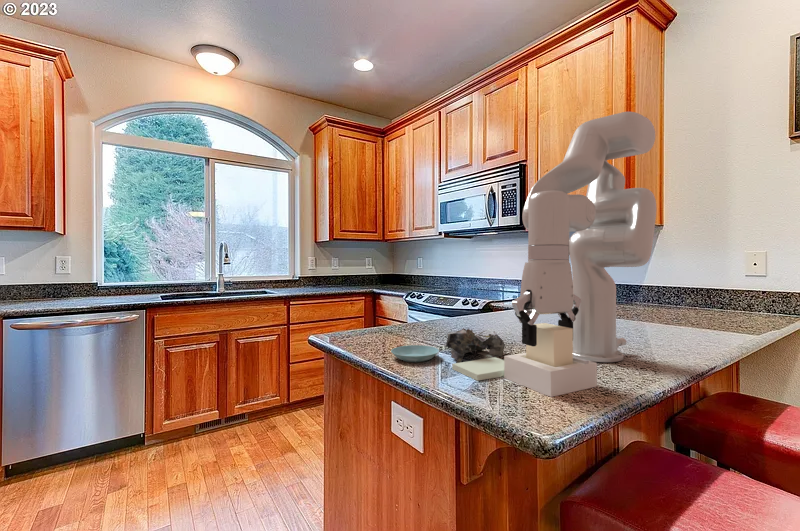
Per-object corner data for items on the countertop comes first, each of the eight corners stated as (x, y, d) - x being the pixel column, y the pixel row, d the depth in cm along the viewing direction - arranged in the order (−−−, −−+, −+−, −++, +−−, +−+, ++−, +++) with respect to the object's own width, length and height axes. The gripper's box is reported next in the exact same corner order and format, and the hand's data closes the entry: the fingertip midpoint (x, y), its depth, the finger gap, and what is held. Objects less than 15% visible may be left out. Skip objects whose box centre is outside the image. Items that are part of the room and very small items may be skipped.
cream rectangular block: (544, 375, 79) (544, 322, 79) (572, 385, 73) (572, 328, 72) (526, 379, 77) (526, 324, 76) (553, 389, 70) (553, 330, 70)
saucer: (381, 358, 95) (381, 349, 95) (418, 350, 102) (418, 342, 102) (411, 369, 85) (410, 359, 85) (449, 360, 92) (449, 350, 92)
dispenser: (547, 369, 83) (547, 347, 83) (596, 386, 72) (596, 360, 72) (504, 377, 77) (504, 353, 77) (550, 396, 67) (550, 368, 67)
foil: (518, 349, 89) (464, 315, 88) (492, 387, 89) (439, 353, 89) (504, 336, 100) (456, 306, 100) (481, 370, 101) (434, 340, 100)
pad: (495, 362, 89) (495, 357, 89) (523, 372, 81) (523, 366, 81) (452, 369, 84) (452, 363, 84) (477, 380, 76) (477, 374, 76)
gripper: (564, 256, 81) (563, 335, 81) (500, 255, 74) (500, 342, 74) (595, 255, 74) (594, 342, 75) (529, 254, 67) (528, 351, 67)
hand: (547, 342), depth 74 cm, fingers open, 9 cm apart
